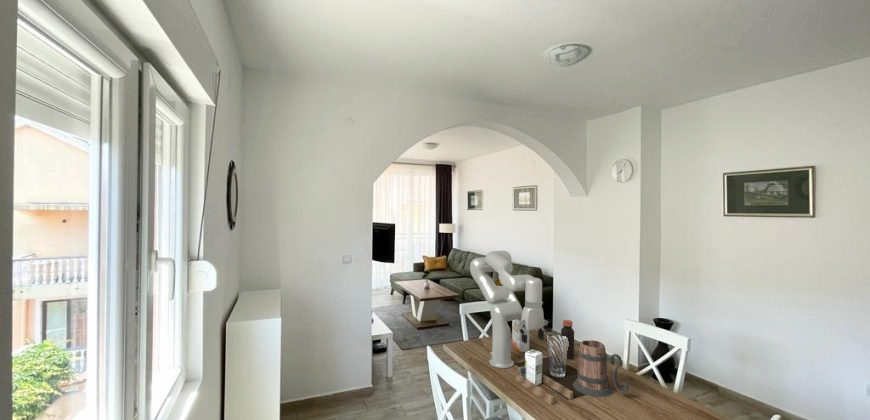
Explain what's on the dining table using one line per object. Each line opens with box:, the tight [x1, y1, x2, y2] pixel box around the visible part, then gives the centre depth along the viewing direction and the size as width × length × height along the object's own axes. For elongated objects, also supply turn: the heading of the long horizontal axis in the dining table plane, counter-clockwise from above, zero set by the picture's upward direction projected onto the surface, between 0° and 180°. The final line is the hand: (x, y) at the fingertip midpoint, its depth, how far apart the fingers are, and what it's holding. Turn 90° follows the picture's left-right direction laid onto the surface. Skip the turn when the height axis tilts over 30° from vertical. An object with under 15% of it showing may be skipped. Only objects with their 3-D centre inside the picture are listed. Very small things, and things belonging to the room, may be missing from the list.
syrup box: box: [524, 349, 543, 386], centre depth 169 cm, size 6×6×14 cm
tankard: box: [572, 339, 630, 398], centre depth 163 cm, size 24×17×20 cm
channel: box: [515, 365, 574, 406], centre depth 163 cm, size 24×12×6 cm, turn 24°
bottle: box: [560, 319, 575, 360], centre depth 199 cm, size 7×7×20 cm
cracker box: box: [511, 317, 530, 353], centre depth 213 cm, size 14×6×21 cm, turn 6°
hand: (532, 340), depth 170 cm, fingers open, 9 cm apart
